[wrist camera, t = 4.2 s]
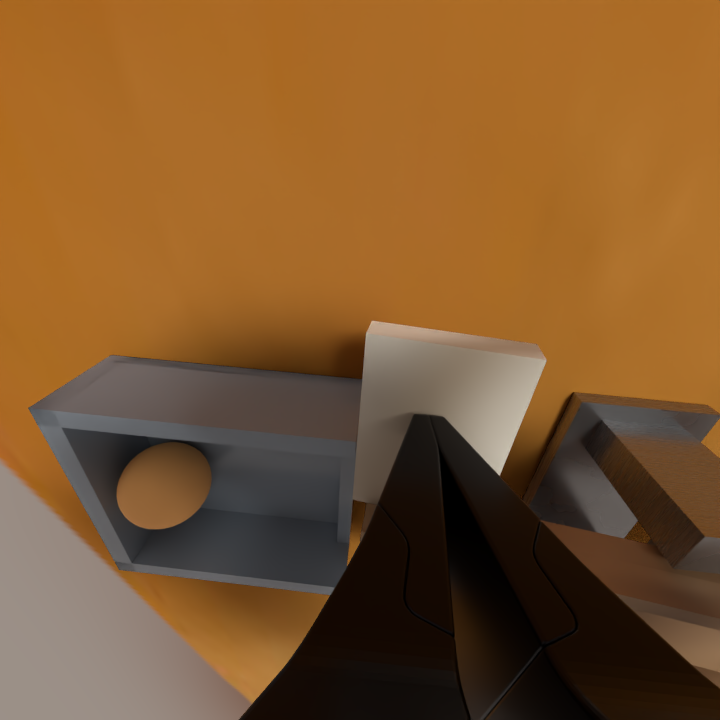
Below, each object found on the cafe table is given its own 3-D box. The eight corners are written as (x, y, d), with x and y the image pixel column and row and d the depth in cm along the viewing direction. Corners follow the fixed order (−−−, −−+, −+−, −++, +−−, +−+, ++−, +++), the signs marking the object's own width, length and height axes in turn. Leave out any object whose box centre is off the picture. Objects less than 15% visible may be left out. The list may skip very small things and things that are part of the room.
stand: (915, 424, 12) (1233, 574, 7) (740, 570, 17) (868, 713, 12) (379, 373, 13) (375, 482, 8) (362, 528, 18) (353, 648, 13)
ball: (76, 518, 12) (129, 449, 15) (155, 557, 13) (189, 487, 16) (133, 477, 11) (178, 413, 14) (212, 524, 12) (237, 457, 15)
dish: (363, 379, 13) (355, 441, 10) (351, 523, 18) (343, 596, 14) (110, 355, 13) (27, 408, 10) (164, 503, 18) (119, 569, 15)
